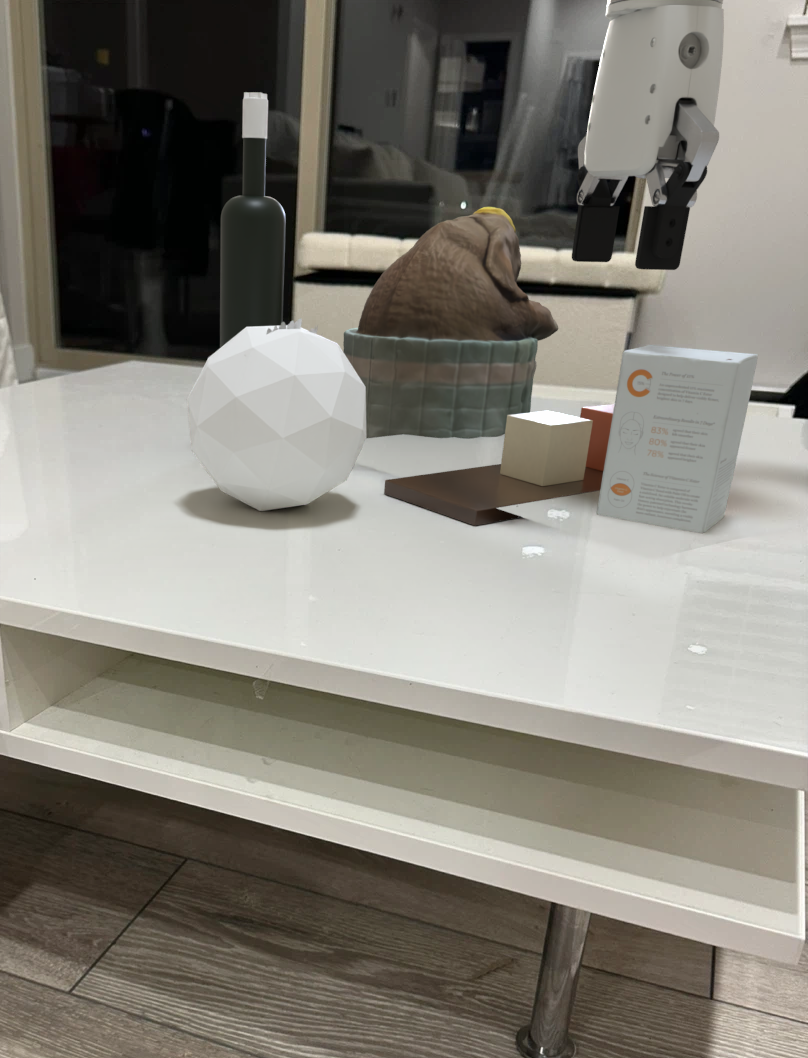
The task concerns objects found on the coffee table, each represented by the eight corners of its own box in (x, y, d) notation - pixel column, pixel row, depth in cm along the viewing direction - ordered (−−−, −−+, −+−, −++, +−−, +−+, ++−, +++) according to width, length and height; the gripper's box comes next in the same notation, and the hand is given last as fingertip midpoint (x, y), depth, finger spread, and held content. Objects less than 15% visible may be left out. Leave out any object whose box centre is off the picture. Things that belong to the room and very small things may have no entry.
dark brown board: (592, 463, 101) (594, 450, 101) (689, 488, 93) (692, 474, 93) (383, 493, 88) (384, 479, 88) (474, 526, 80) (476, 510, 80)
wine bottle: (262, 442, 106) (270, 97, 93) (288, 454, 101) (301, 93, 88) (209, 446, 103) (210, 93, 90) (234, 458, 99) (239, 88, 86)
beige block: (540, 468, 93) (548, 410, 91) (583, 480, 90) (593, 420, 88) (499, 474, 91) (506, 414, 89) (542, 486, 87) (551, 425, 85)
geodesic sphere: (261, 399, 93) (212, 263, 81) (413, 417, 88) (384, 273, 76) (192, 531, 88) (128, 406, 76) (348, 559, 82) (307, 429, 70)
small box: (722, 530, 81) (762, 353, 75) (699, 549, 76) (740, 361, 71) (618, 512, 85) (648, 342, 79) (591, 528, 80) (621, 349, 75)
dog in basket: (540, 413, 126) (569, 209, 116) (554, 456, 103) (591, 209, 94) (351, 402, 129) (363, 203, 119) (325, 442, 107) (338, 201, 97)
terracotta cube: (609, 458, 98) (618, 403, 96) (653, 469, 94) (664, 412, 92) (572, 463, 95) (581, 407, 93) (616, 475, 92) (626, 416, 90)
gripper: (797, -29, 64) (735, 273, 72) (649, 13, 80) (610, 260, 87) (687, -38, 63) (635, 272, 71) (557, 7, 78) (526, 258, 86)
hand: (621, 265), depth 79 cm, fingers open, 9 cm apart
